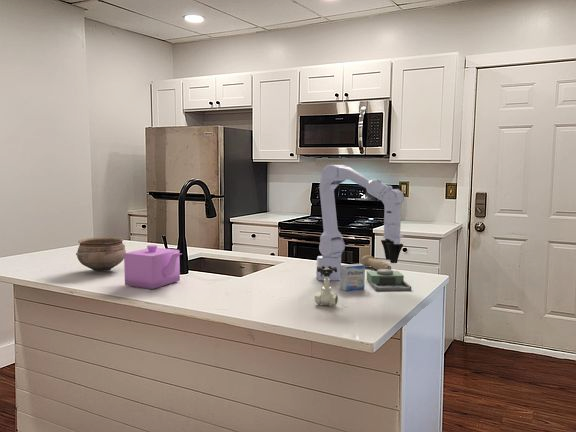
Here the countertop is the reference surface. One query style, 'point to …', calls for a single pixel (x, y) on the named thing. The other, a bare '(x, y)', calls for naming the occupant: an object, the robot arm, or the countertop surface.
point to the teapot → (152, 267)
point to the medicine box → (352, 277)
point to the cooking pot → (101, 253)
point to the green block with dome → (385, 277)
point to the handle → (374, 263)
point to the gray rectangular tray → (391, 287)
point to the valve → (326, 288)
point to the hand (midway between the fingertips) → (391, 261)
